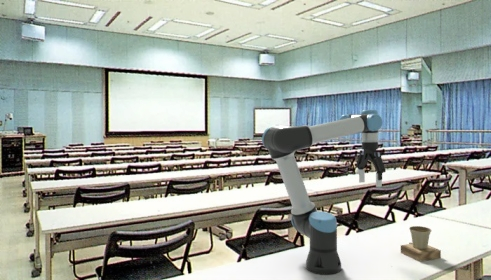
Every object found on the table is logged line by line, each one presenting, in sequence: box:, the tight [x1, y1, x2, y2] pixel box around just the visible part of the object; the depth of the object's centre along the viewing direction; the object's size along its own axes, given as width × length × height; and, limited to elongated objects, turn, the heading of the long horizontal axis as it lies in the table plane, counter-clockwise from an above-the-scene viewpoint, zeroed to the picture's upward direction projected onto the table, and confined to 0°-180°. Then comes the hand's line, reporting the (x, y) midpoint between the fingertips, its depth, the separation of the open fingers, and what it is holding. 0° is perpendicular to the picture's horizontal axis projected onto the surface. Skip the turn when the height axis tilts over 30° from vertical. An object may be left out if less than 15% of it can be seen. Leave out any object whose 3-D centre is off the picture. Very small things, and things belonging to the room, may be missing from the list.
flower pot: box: [408, 225, 432, 249], centre depth 177 cm, size 9×9×9 cm
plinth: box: [400, 243, 442, 262], centre depth 177 cm, size 12×12×4 cm
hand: (370, 184), depth 187 cm, fingers open, 13 cm apart
